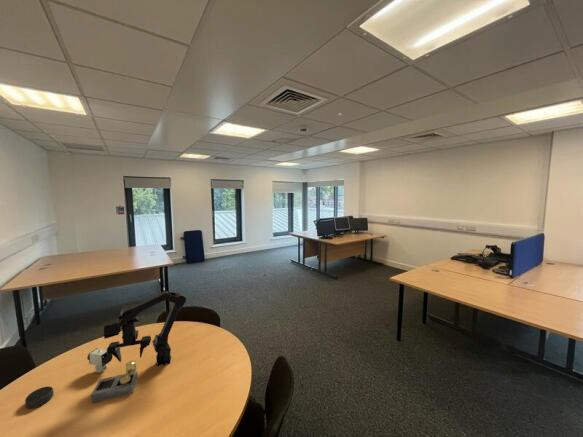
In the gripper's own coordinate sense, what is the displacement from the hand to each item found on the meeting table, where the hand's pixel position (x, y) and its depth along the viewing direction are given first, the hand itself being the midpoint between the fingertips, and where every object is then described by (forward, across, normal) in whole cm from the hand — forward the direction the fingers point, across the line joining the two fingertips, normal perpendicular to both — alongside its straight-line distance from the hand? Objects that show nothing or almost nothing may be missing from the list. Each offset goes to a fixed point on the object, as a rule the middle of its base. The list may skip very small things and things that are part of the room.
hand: (130, 359), depth 127 cm
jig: (+8, +4, +10) cm, 14 cm away
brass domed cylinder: (+8, 0, 0) cm, 8 cm away
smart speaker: (+8, +35, +5) cm, 37 cm away
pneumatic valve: (+8, +16, -9) cm, 20 cm away
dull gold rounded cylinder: (+8, 0, +10) cm, 13 cm away
